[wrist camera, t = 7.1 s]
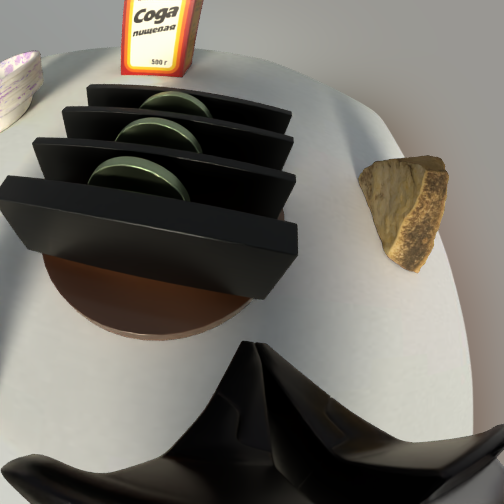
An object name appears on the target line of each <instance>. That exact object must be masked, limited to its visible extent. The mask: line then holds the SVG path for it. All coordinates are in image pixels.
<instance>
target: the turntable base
mask: <svg viewBox="0 0 504 504" xmlns="http://www.w3.org/2000/svg"><path fill="white" fill-rule="evenodd" d="M278 220H283V221H285V220H284V212H283V209H282V211H281V213H280V215H279V217H278ZM42 255H43V259H44V264H45V267H46V269H47V272H48V274H49V276H50V279H51V280H52V282H53V284H54V285H55V287H56V288H57V290H58V291H59V293H60V294H61V295H62V296H63V297H64V298H65V299H66V301H67V302H68V303H69V304H70V305H71V306H72V307H73V308H74V309H75V310H76V311H77V312H78V313H80V314H81V315H82V316H84V317H85V318H86V319H88V320H89V321H90V322H92V323H93V324H95V325H97V326H99V327H101V328H103V329H105V330H107V331H109V332H112V333H115V334H118V335H121V336H124V337H129V338H134V339H140V340H161V341H164V340H172V339H180V338H185V337H189V336H193V335H196V334H200V333H203V332H205V331H207V330H210V329H212V328H214V327H217V326H219V325H221V324H222V323H224V322H226V321H227V320H229V319H230V318H232V317H234V316H235V315H236V314H238V313H239V312H240V311H241V310H242V309H244V308H245V307H246V306H247V305H248V304H249V303H250V302H251V301H252V300H253V299H254V298H249V297H243V296H237V295H231V294H225V293H219V292H214V291H208V290H203V289H197V288H192V287H187V286H182V285H177V284H171V283H166V282H162V281H157V280H152V279H147V278H142V277H138V276H133V275H129V274H124V273H120V272H115V271H111V270H107V269H102V268H98V267H94V266H90V265H86V264H82V263H78V262H74V261H70V260H66V259H62V258H58V257H55V256H51V255H47V254H44V253H42Z"/></svg>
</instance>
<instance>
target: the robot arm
mask: <svg viewBox="0 0 504 504" xmlns="http://www.w3.org/2000/svg"><path fill="white" fill-rule="evenodd" d="M503 450H504V424H501V425H497V426H495V427H493V428H492V429H490V430H488V431H486V432H483V433H479V434H476V435H471V436H466V437H460V438H454V439H447V440H439V441H430V442H417V443H413V442H406V441H402V440H399V439H397V438H395V437H393V436H391V435H389V434H387V433H386V432H384V431H382V430H380V429H379V428H377V427H375V426H374V425H372V424H370V423H368V422H367V421H365V420H363V419H362V418H360V417H359V416H357V415H356V414H354V413H352V412H351V411H350V410H348V409H347V408H345V407H344V406H343V405H341V404H340V403H339V402H337V401H336V400H335V399H333V398H332V397H331V398H330V396H329V395H328V394H327V393H326V392H324V391H323V390H322V389H321V388H319V387H318V386H317V385H316V384H314V383H313V382H312V381H311V380H309V379H308V378H307V377H306V376H304V375H303V374H302V373H301V372H300V371H298V370H297V369H296V368H295V367H294V366H292V365H291V364H290V363H289V362H288V361H286V360H285V359H284V358H283V357H282V356H280V355H279V354H278V353H277V352H276V351H275V350H273V349H272V348H271V347H270V346H269V345H268V344H266V343H258V342H256V343H254V342H250V341H242V342H241V343H240V345H239V347H238V349H237V351H236V353H235V355H234V357H233V359H232V361H231V362H230V364H229V366H228V368H227V370H226V372H225V374H224V376H223V378H222V379H221V381H220V383H219V385H218V387H217V389H216V391H215V392H214V394H213V396H212V398H211V399H210V401H209V403H208V404H207V406H206V408H205V409H204V410H203V412H202V413H201V414H200V416H199V417H198V418H197V419H196V421H195V422H194V423H193V424H192V425H191V426H190V427H189V428H188V430H187V431H186V432H185V433H184V434H183V435H182V436H181V437H180V438H179V440H178V441H177V442H176V443H175V444H174V445H173V446H172V447H171V448H170V449H169V450H168V451H167V452H165V453H164V454H163V455H161V456H160V457H158V458H156V459H153V460H150V461H147V462H144V463H141V464H138V465H135V466H132V467H129V468H125V469H122V470H119V471H115V472H110V473H93V472H87V471H83V470H80V469H77V468H74V467H71V466H69V465H67V464H64V463H62V462H60V461H58V460H55V459H53V458H50V457H47V456H44V455H40V454H31V455H27V456H24V457H20V458H17V459H14V460H12V461H10V462H8V463H7V464H6V465H4V466H3V467H2V468H1V473H2V475H3V477H4V478H5V479H6V480H7V481H8V482H9V483H10V484H11V485H12V486H13V487H14V488H15V489H16V490H17V491H18V492H19V493H20V494H21V495H22V496H23V497H24V498H25V499H26V500H27V501H28V502H30V503H31V504H504V466H503V465H502V464H501V463H500V462H499V460H498V459H497V456H498V455H499V454H500V453H501V452H502V451H503Z"/></svg>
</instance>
